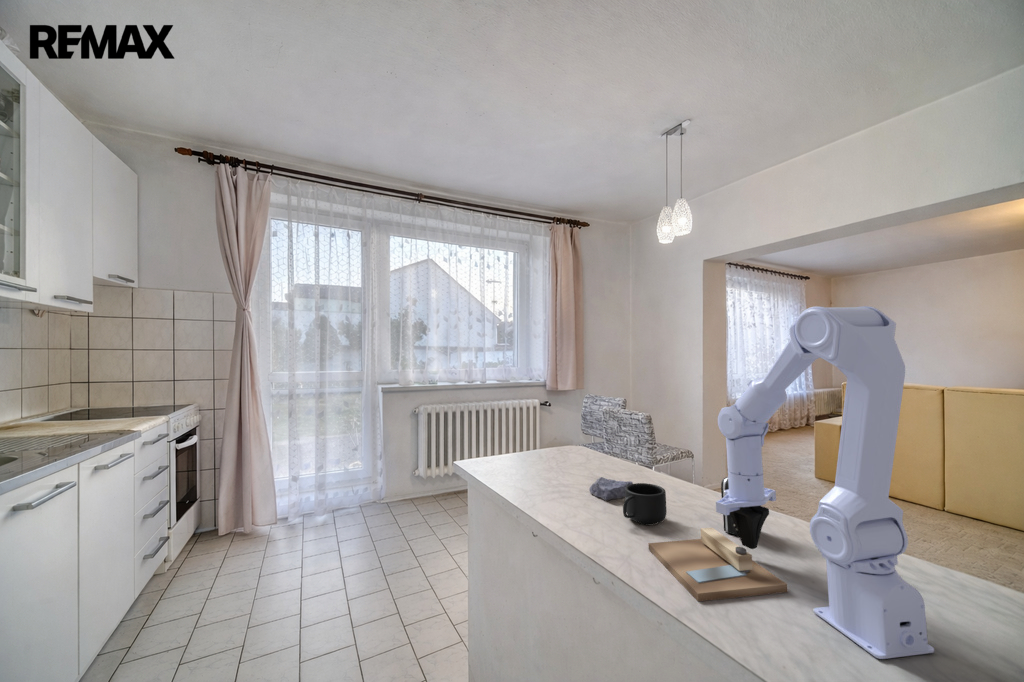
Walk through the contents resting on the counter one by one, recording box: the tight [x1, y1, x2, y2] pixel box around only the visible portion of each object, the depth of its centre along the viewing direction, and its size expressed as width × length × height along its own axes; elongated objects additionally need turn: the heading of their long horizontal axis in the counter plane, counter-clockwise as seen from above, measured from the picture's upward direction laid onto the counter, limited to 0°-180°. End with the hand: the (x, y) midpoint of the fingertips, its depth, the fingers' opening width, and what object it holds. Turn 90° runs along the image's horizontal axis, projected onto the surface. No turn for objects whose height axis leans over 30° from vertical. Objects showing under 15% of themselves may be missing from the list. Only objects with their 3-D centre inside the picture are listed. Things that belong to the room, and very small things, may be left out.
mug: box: [622, 482, 668, 526], centre depth 91 cm, size 12×9×7 cm
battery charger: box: [720, 476, 739, 536], centre depth 85 cm, size 7×4×11 cm, turn 117°
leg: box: [700, 527, 753, 571], centre depth 72 cm, size 11×2×3 cm, turn 6°
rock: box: [588, 476, 634, 501], centre depth 110 cm, size 12×5×10 cm
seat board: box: [648, 538, 789, 602], centre depth 70 cm, size 17×15×2 cm
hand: (749, 546), depth 73 cm, fingers closed
